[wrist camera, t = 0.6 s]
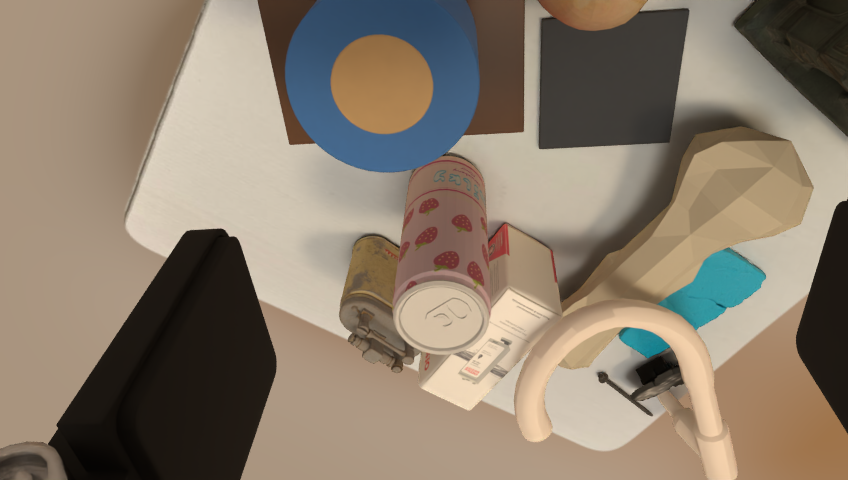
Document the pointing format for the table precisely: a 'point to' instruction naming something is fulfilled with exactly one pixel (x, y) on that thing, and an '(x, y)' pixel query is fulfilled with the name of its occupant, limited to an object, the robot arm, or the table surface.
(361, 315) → the lighter
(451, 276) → the beverage can
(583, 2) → the fruit
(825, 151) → the table surface
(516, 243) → the ink box
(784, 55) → the model
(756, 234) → the faceted club
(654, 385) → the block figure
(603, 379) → the screw
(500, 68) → the tall wooden box
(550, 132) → the mat
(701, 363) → the faucet
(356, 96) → the tape
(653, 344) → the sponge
